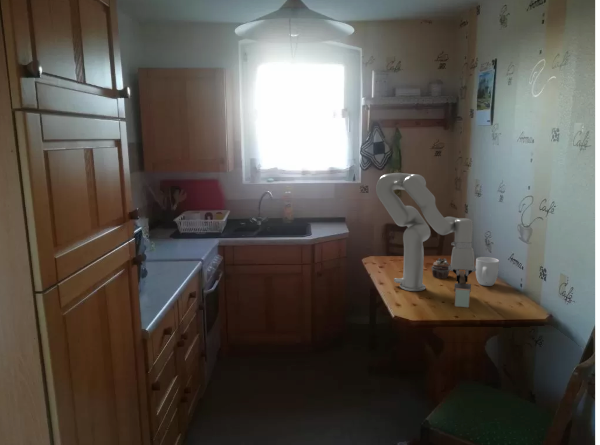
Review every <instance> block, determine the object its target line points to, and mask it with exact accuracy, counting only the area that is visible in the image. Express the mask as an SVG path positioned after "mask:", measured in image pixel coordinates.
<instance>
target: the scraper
mask: <svg viewBox="0 0 600 445" xmlns="http://www.w3.org/2000/svg"><path fill="white" fill-rule="evenodd" d="M459 275H460V278H459V283H458V282H457V283H456V282H455V283H454V289H453V292H455V289H456V288H459V289H470V293H471V291H472V284H471V283H467V282H465V277H464V275H465V270H459Z"/></svg>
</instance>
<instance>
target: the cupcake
mask: <svg viewBox="0 0 600 445" xmlns="http://www.w3.org/2000/svg"><path fill="white" fill-rule="evenodd" d="M450 264H451V263H449V262H448V260H447V258H446V257H445V258H440V257H439V258H438V259H437V260H436V261H434V262H433V265H432V266H431V274H432V277H433V278H435V279H448V277H449V273H450V271H451V270H449V269H448V268H449V266H450Z"/></svg>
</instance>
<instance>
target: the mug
mask: <svg viewBox="0 0 600 445" xmlns="http://www.w3.org/2000/svg"><path fill="white" fill-rule="evenodd" d="M475 268H476V271H475V277H476V280H477V282H478V284H479V285H481V286H483V287H491V286H493V285H495V283H496V281H497V279H498V276H499V269H500V260H499V259H497V258H495V257H487V256H480V257H479V256H478V257H476V259H475Z"/></svg>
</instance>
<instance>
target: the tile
mask: <svg viewBox="0 0 600 445" xmlns="http://www.w3.org/2000/svg"><path fill="white" fill-rule="evenodd" d="M454 289H455V288H454ZM470 296H471V292H470V289H459V288H456V289H455V293H454V307H457V308H460V307H461V308H469V309H470V298H471V297H470Z"/></svg>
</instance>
